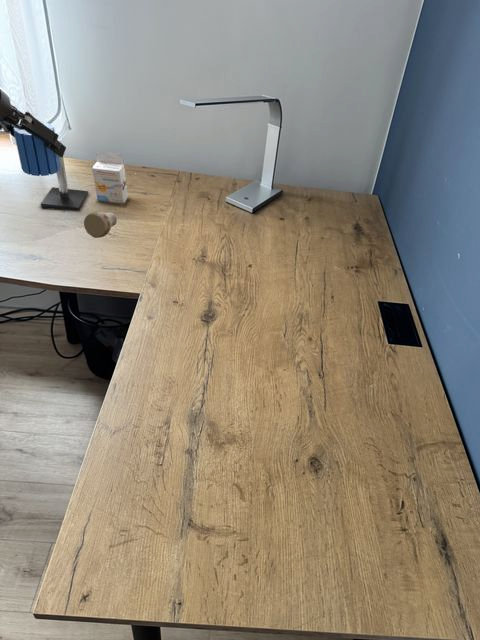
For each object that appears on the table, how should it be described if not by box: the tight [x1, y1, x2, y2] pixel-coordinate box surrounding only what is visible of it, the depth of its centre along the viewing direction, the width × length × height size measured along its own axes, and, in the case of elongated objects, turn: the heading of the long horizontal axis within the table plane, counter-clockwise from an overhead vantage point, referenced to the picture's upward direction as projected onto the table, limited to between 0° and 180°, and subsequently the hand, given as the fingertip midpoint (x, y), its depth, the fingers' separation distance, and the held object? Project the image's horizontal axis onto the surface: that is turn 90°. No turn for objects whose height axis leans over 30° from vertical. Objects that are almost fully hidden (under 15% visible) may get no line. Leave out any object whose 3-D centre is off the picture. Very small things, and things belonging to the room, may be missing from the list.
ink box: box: [91, 151, 129, 204], centre depth 153 cm, size 8×5×15 cm, turn 84°
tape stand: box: [40, 155, 89, 211], centre depth 149 cm, size 11×11×17 cm
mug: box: [83, 211, 118, 239], centre depth 143 cm, size 8×10×10 cm
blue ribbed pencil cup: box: [13, 121, 60, 177], centre depth 125 cm, size 9×9×10 cm
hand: (46, 147), depth 127 cm, fingers closed on blue ribbed pencil cup, 9 cm apart
